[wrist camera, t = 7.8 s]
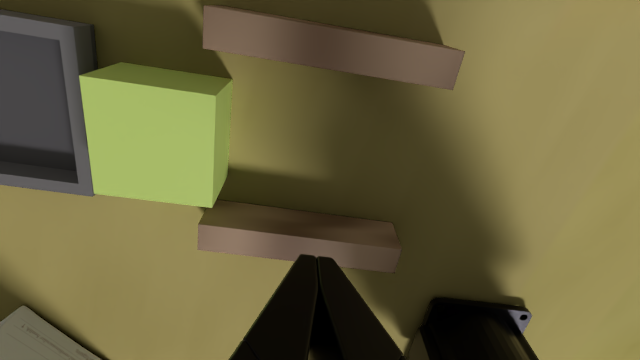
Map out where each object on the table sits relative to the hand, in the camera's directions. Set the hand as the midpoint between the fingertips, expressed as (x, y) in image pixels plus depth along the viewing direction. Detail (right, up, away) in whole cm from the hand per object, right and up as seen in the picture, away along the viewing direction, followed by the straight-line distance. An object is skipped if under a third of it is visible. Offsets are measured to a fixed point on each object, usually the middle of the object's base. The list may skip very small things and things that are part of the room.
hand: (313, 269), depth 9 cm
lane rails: (0, +4, +9) cm, 10 cm away
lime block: (-7, +5, +9) cm, 12 cm away
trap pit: (-14, +6, +8) cm, 17 cm away
